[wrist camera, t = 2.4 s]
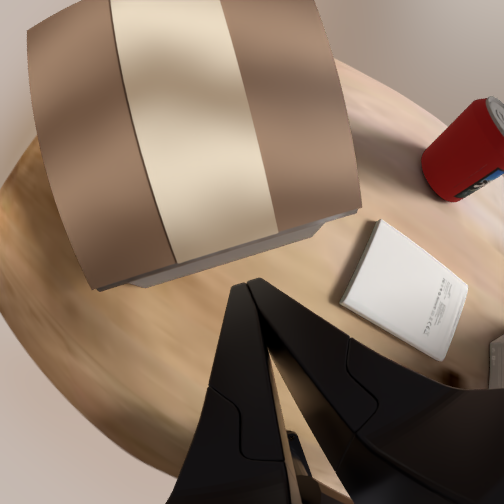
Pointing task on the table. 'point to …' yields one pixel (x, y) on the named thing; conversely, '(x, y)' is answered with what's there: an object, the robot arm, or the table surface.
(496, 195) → the table surface
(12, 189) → the table surface
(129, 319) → the table surface
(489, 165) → the beverage can
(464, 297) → the external hard drive
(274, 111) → the lid
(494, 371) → the skincare box
